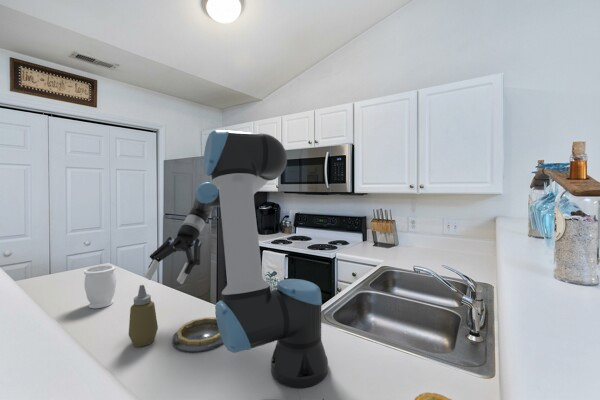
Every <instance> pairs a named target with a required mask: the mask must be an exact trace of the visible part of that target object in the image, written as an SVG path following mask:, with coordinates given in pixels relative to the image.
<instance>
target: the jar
mask: <svg viewBox="0 0 600 400" xmlns="http://www.w3.org/2000/svg"><path fill="white" fill-rule="evenodd" d="M115 270H116V265H111V264H110V265H109V264H105V265H97V266H93V267H89V268H86V269H85V270H83V273H84V275H85V277H84V282H83V283H84V291H85V295H86V298H87V301H88V302H89V305H88V307H89V308H90V309H94V310H95V309H102V308H106V307H109V306H111V305H113V304H114V303H115V300H114V299H113V298H114V296H115V293H116V286H117V279H116V278H117V277H116V273H115Z"/></svg>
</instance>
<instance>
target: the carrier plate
mask: <svg viewBox="0 0 600 400" xmlns="http://www.w3.org/2000/svg"><path fill="white" fill-rule="evenodd" d="M172 345H173V348H175V349H176V350H177V351H180V352H183V353H187V354H188V353H189V354H193V353H203V352H208V351H211V350H214V349H217V348H219V347H221V346H222V345H224V343H223V341H222V338H221V336H220V333H219V329H218V325H217V321H216V317H201V318H197V319H194V320H193V319H192V320H191V321H190V320H189V321H188V322H186V323H184V324H183V325H181V326H180V328H179V329H178V330H177V331H176V332H175V333H174V334H173V337H172Z"/></svg>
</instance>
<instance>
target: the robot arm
mask: <svg viewBox="0 0 600 400" xmlns="http://www.w3.org/2000/svg"><path fill="white" fill-rule="evenodd" d="M287 163H288V156H287V151H286V149H285V147H284V145H283V143H281V141H280V140H278V138H276V137H275V136H273V135H270V134H267V133H261V132H260V133H259V132H257V133H256V132H246V131H236V130H230V129H226V130H224V129H223V130H222V129H215V130H212V131H211V132H210V133H209V134H208V135H207V138H206V142H205V146H204V152H203V174H204V175H206V176H211V182H208V181H206V182H203V183H201V184H199V185H198V188H197V189H196V192H195V197H194V201H193V205H192V207H191V209H190V211H189V213H188V214H187V216H186V217H185V219H184V221H183V222H182V225H181V226H180V227H179V229H178V231H177V234H176V237H175V238H172V237H171V236H169V237H168V238H166V241H164V242H163V244H161V245H160V246H159V247H157V249H156V250H154V251H153V253H151V254H150V255H149V258H150V259H151V260H152V261H151V262H150V263H149V265H148V269H147V271H146V272H145V274H144V278H146V280H148V281H150V280H152V278H153V276H154V275H155V273H156V271H157V269H158V268H159V266H160V265H161V263H160V262H161V261H162V260H164V259H166V258H167V257H168V256H170V255H172V254H174V253H176V252H183V253H185V255H186V259H187V262H184V265H183V267H182V269H181V271H180V273H179V275H178V276H177V278H176V281H177V282H178V283H179V284H180V285H183V284H184V282H185V280H186V278H187V276H188V275H190V274H191V271H192V270H193V267H194V266H199V265H200V264H201V248H202V247H201V246H202V241H201V240H200V239H199V237H200V235H201V232H202V230H203V229H204V228H205V225H206V223H207V222H208V219H209V217H210V216H211V215H212V212H213V211H214V209H215V207H217V208H218V207H219V208H220V217H221V227H222V229H221V230H222V240H223V249H224V261H225V271H226V273H225V274H226V282H227V283H226V286H225V287H224V289H223V290H222V292H221V300H219V301H218V302H216V303H215V305H214V308H215V309H214V310H215V311H214V312H215V313H214V314H215V318H216V321H217V325H218V329H219V333H220V336H221V338H222V341H223V343H224V344H223V345H224V347H225V349H227V351H229V352H230V353H233V354H235V353H240V352H243V351H250V350H252V349H254V348H258V347H261V346H263V345H266V344H267V345H268V344H270V343H273V342H276V344H275V348H274V349H273V353H272V357H271V359H270V372H271V375H272V377H273V378H274V379H275V381H277V382H278V383H279V384H281V385H283V386H286V387H289V388H294V389H295V388H296V389H297V388H298V389H302V388H303V389H304V388H310V387H313V386H315V385H318V384H319V383H321V382H322V381H323V380H324V379H325V378H326V377H327V375H328V373H329V372H328V371H329V368H328V367H329V360H328V357H327V354H326V351H325V347H324V345H323V342H322V306H323V301H322V300H323V299H322V292H321V289H320V287H319V286H318V285H317V284H315V283H314V282H311V281H308V280H305V279H297V278H286V279H285V278H284V279H281V280H280V281H278V282H277V284H276V289H274V290H271V285H270V283H268V282H267V281H266V280H265V279H264V277H263V268H262V260H261V259H262V258H261V250H260V249H261V248H260V242H259V231H258V224H257V217H256V216H257V215H256V207H255V194H256V193H257V192H259V190H261V189H262V188H263V187H264V186H265V185H267V183H269V182H270V181H274V180H276V179H277V178H279V177H280V176H281V175H282V174H283V172H284V171H285V170H286V167H287V165H288V164H287ZM192 247H193V251H192Z"/></svg>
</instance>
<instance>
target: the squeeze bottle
mask: <svg viewBox="0 0 600 400" xmlns="http://www.w3.org/2000/svg"><path fill="white" fill-rule="evenodd" d="M145 287H146V286H145V284H140V285H139V288H138V293H137V295H136V296H134V297H133V304H132V305H131V306H130V309H129V312H130V313H129V325H128V337H129V339H130V341H131V343H132V345H133V346H134V347H139V348H140V347H145V346H148V345H150V344H152V343H153V342H154V341H155V339H156V336H157V331H158V329H159V328H158V327H159V326H158V319H157V312H156V305H155V302H154V301H152V299H151V298H152V297H151V296H152V295H151V294H148V293H147V290H146V288H145Z"/></svg>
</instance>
